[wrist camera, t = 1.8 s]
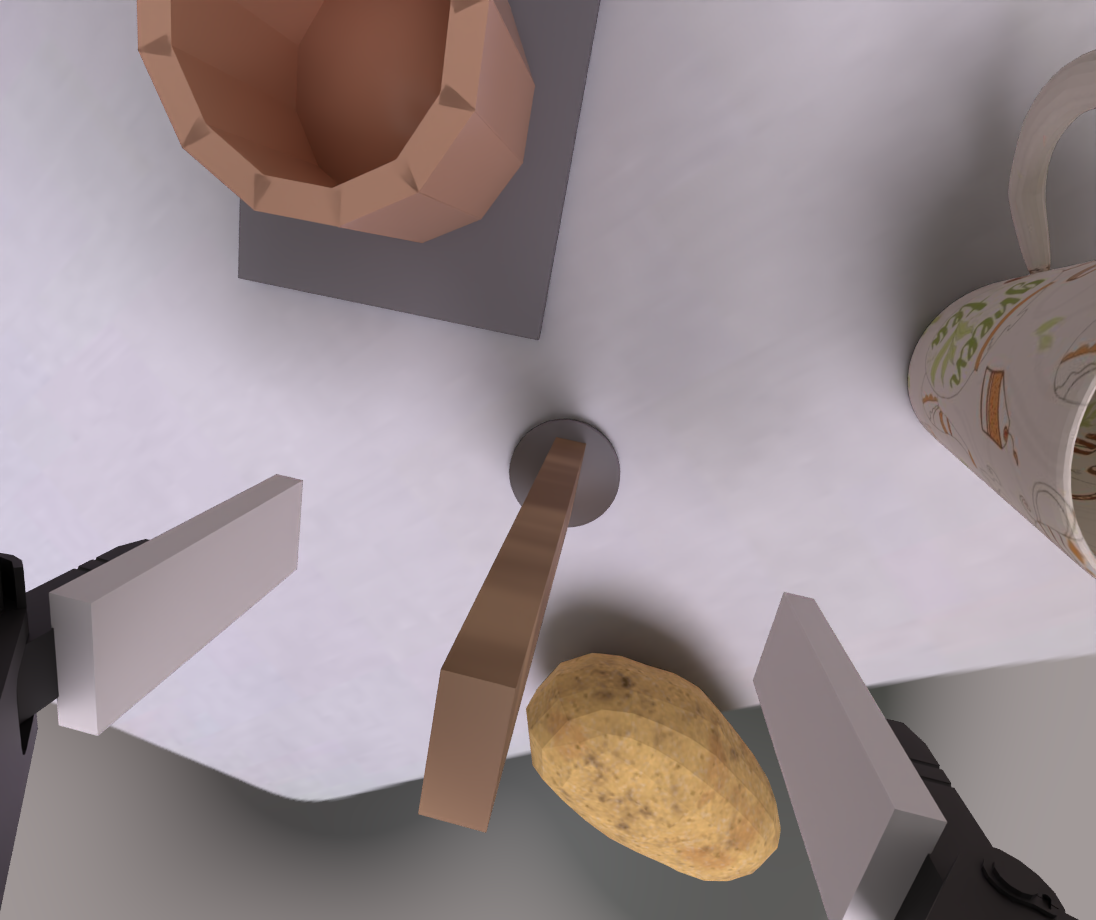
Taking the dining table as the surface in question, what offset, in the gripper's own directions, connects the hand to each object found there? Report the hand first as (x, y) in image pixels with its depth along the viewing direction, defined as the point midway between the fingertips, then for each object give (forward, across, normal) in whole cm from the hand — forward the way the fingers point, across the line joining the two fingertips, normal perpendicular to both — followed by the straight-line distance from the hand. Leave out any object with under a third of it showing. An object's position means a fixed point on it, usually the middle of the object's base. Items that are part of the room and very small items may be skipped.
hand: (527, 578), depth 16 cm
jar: (+8, -8, +12) cm, 17 cm away
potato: (+9, +6, -10) cm, 14 cm away
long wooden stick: (+9, 0, 0) cm, 9 cm away
